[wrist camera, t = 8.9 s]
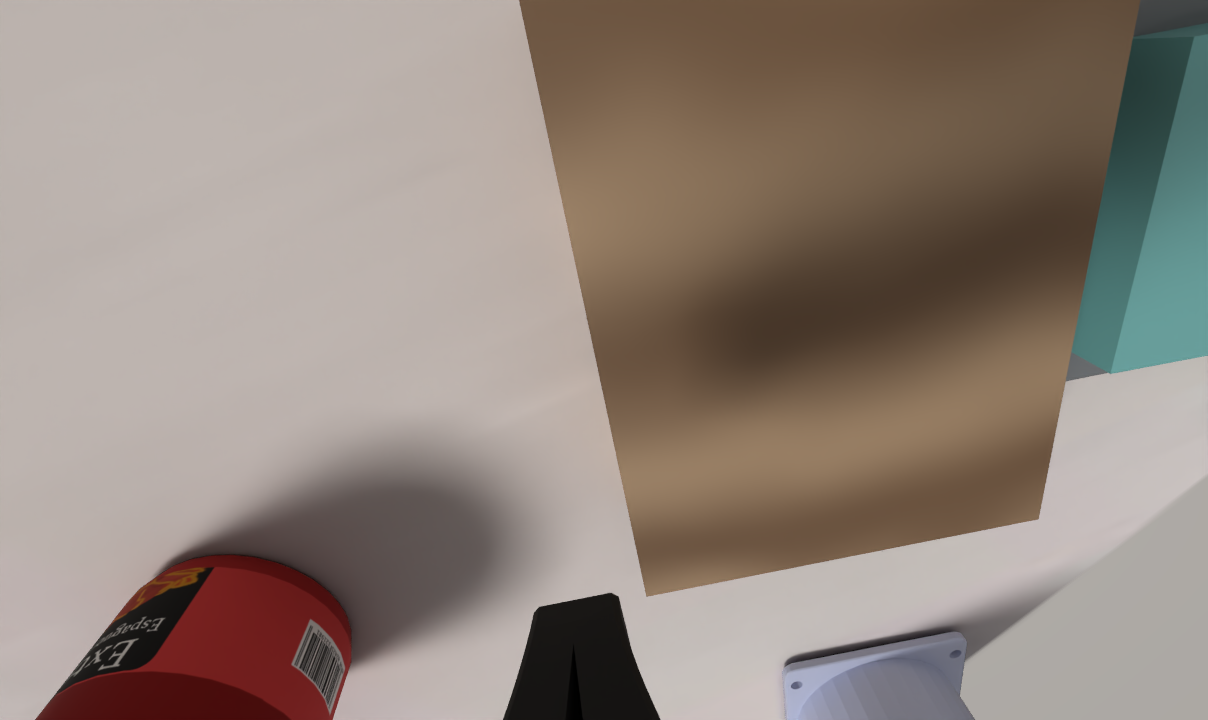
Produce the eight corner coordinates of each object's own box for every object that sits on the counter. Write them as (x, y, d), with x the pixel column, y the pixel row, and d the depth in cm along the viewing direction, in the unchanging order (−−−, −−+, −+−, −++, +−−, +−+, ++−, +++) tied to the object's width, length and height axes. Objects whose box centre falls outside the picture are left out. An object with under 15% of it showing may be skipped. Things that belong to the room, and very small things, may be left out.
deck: (957, 443, 22) (1038, 519, 18) (630, 508, 22) (646, 596, 18) (1015, -99, 14) (1169, -152, 11) (523, 2, 14) (515, -17, 11)
